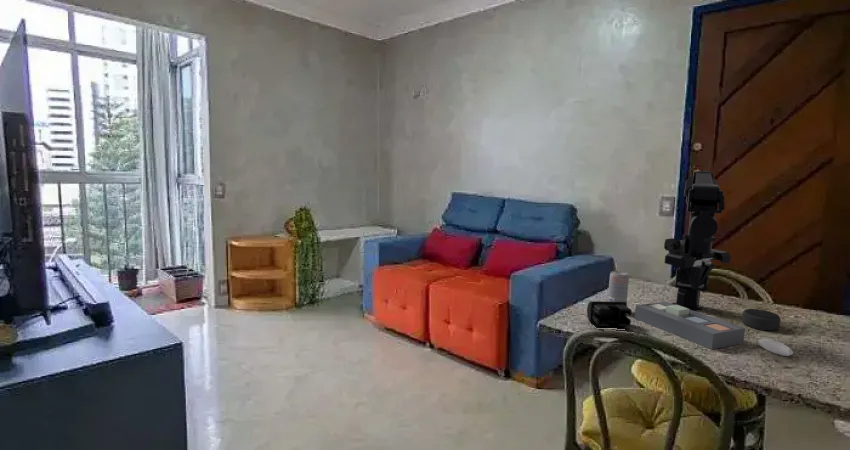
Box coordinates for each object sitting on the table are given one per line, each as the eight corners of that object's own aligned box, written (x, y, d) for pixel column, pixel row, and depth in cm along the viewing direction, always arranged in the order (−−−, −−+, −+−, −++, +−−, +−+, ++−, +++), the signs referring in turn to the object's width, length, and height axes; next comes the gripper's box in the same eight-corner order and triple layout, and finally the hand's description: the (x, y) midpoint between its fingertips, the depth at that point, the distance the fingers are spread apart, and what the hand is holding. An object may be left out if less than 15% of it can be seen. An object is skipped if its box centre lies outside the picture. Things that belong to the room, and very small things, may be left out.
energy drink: (622, 309, 149) (625, 271, 147) (628, 314, 143) (631, 275, 142) (604, 308, 149) (608, 270, 148) (609, 313, 144) (613, 274, 142)
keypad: (663, 314, 145) (665, 301, 144) (743, 343, 123) (745, 328, 122) (634, 318, 140) (635, 305, 139) (711, 349, 118) (713, 333, 118)
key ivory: (657, 311, 142) (658, 303, 142) (669, 316, 138) (670, 307, 138) (647, 313, 140) (648, 305, 140) (659, 317, 137) (660, 309, 136)
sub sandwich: (786, 359, 114) (787, 348, 113) (754, 346, 121) (755, 336, 121) (795, 358, 115) (797, 347, 114) (763, 345, 122) (765, 334, 122)
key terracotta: (715, 332, 126) (716, 323, 125) (729, 338, 122) (730, 328, 122) (704, 334, 124) (705, 325, 124) (719, 340, 121) (720, 330, 120)
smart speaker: (776, 324, 138) (778, 311, 138) (781, 334, 131) (783, 320, 130) (739, 319, 142) (741, 306, 142) (743, 328, 135) (744, 314, 134)
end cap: (620, 321, 137) (622, 298, 136) (631, 330, 130) (633, 306, 129) (585, 321, 137) (587, 298, 136) (595, 330, 130) (597, 306, 129)
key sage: (675, 313, 136) (676, 304, 136) (688, 317, 133) (689, 308, 132) (665, 314, 135) (666, 306, 134) (678, 319, 131) (679, 310, 131)
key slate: (694, 325, 131) (695, 316, 131) (707, 330, 128) (708, 321, 127) (684, 327, 130) (684, 318, 129) (697, 332, 126) (698, 322, 126)
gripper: (697, 226, 139) (691, 278, 141) (650, 229, 131) (645, 284, 134) (735, 232, 129) (728, 288, 131) (686, 236, 121) (680, 295, 124)
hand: (694, 288), depth 130 cm, fingers closed
